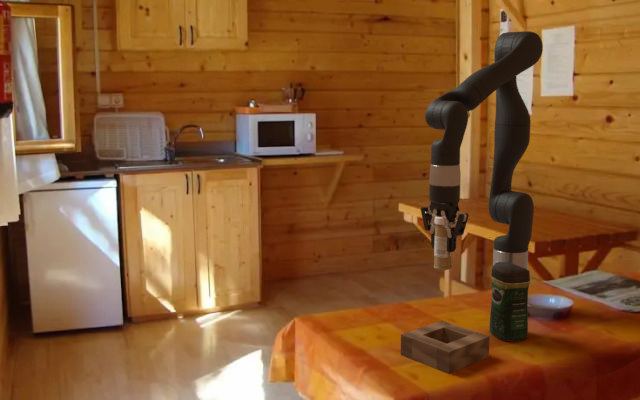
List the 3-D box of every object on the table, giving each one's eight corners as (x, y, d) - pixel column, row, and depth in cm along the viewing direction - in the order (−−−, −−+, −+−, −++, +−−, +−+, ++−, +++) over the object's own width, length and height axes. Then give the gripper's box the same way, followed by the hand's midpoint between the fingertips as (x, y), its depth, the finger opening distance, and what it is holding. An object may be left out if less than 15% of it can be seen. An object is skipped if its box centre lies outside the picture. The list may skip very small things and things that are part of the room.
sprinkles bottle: (455, 268, 183) (456, 215, 180) (444, 271, 180) (445, 218, 177) (440, 264, 186) (441, 213, 184) (429, 268, 183) (430, 215, 181)
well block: (441, 339, 180) (441, 320, 179) (488, 356, 169) (489, 336, 168) (400, 354, 170) (400, 334, 169) (448, 373, 160) (449, 352, 159)
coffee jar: (533, 340, 179) (536, 267, 175) (504, 344, 176) (507, 270, 173) (511, 327, 188) (514, 257, 184) (484, 331, 185) (486, 260, 182)
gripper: (477, 184, 176) (475, 252, 179) (433, 177, 187) (431, 242, 190) (457, 187, 171) (455, 257, 174) (413, 180, 182) (411, 247, 185)
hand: (443, 249), depth 182 cm, fingers closed on sprinkles bottle, 4 cm apart
